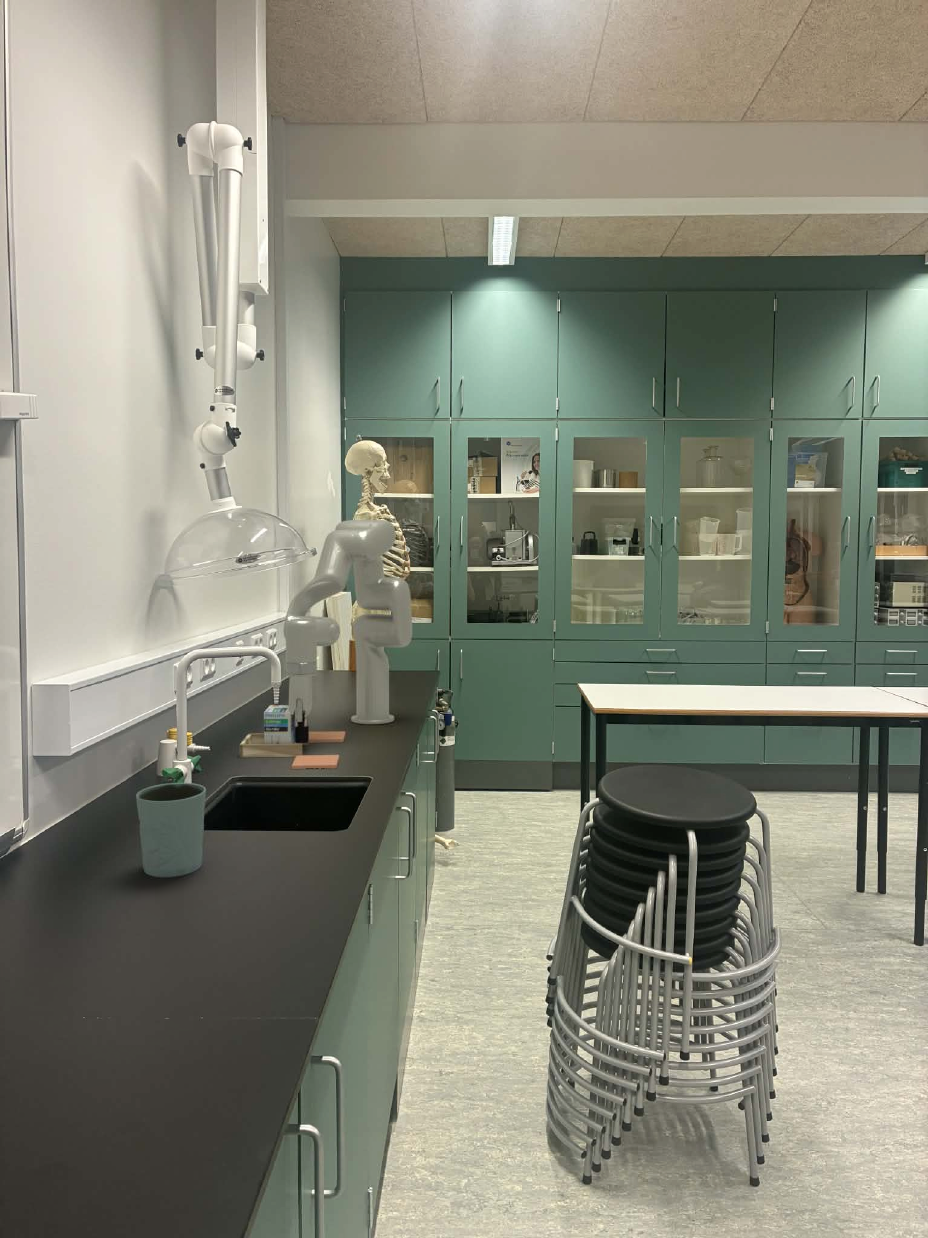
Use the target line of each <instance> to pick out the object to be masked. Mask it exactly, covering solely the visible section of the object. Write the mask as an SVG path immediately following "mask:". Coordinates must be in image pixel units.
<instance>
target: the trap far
mask: <svg viewBox="0 0 928 1238" xmlns="http://www.w3.org/2000/svg"><path fill="white" fill-rule="evenodd" d="M345 737H346V731H345V730H344V731H342V730H341V731H339V730H338V731H309V741H308V744H309V743H311V744H313V743H344V741H345Z"/></svg>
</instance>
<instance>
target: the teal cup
mask: <svg viewBox="0 0 928 1238" xmlns="http://www.w3.org/2000/svg"><path fill="white" fill-rule="evenodd" d="M206 793H207V790H206V787H205V786H203V785H201V784H198V783H193V782H167V783H162V784H155V785H151V786H149V787H146V788H143V789H141V790H140V791H138V792H137V793H136V795H135V800H136V807H137V812H138V820H139V836H140V844H141V856H142V868H143V871H144V873H145V874H146V875H148V876H151V877H155V878H175V877H180V876H185V875H187V874H191V873H193V872H195V871H198V870H199V869H200V868H201V867H202V864H203V846H202V845H203V843H204V841H203V840H204V829H205V823H204V820H205V806H206V796H207V795H206Z"/></svg>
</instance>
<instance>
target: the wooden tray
mask: <svg viewBox="0 0 928 1238" xmlns="http://www.w3.org/2000/svg"><path fill="white" fill-rule="evenodd" d="M308 744H309V743H296V744H264V732H263V733H262V732H261V733H248V734H247V735H246V736H245V738H243V739H242V741H241V743H240V744H239V745H238V746H239V748H238V749H239V751H238V752H239V757H238V758H242V759H243V758H296V756H300V755H303V746H308Z"/></svg>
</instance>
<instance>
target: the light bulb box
mask: <svg viewBox="0 0 928 1238" xmlns="http://www.w3.org/2000/svg"><path fill="white" fill-rule="evenodd" d="M263 727H264V728H263V733H264V744H296V742H295V727H296V725H295V712H294V714H293V715H291V712H289V704H286V705H285V704H283V705H282V704H279V705H277V704H270V705H269V706H268V707H267V708H266V709H265V711H264V712H263Z"/></svg>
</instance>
